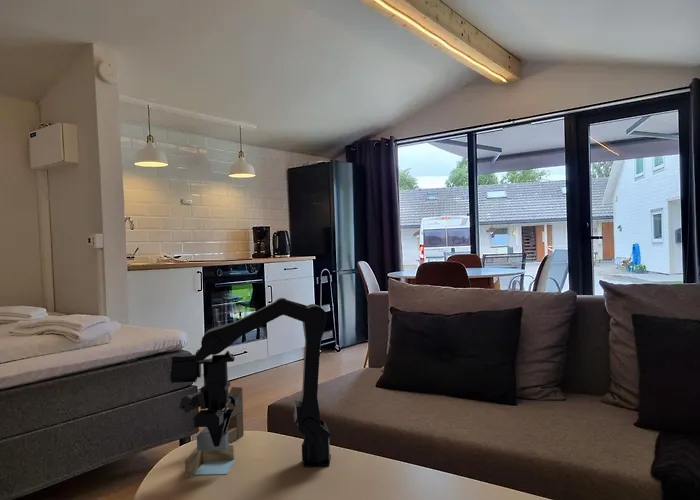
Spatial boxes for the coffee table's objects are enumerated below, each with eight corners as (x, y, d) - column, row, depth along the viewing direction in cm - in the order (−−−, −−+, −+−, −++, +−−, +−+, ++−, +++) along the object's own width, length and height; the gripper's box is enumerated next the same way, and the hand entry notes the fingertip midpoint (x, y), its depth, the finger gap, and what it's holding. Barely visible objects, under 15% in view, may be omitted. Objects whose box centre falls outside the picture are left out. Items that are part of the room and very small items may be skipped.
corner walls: (234, 458, 135) (234, 443, 135) (223, 476, 124) (222, 459, 124) (199, 459, 135) (199, 444, 135) (185, 477, 124) (185, 460, 125)
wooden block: (244, 435, 152) (242, 374, 152) (223, 449, 142) (220, 383, 142) (233, 434, 153) (231, 373, 154) (211, 447, 143) (209, 382, 143)
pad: (235, 461, 133) (235, 460, 133) (226, 474, 125) (226, 473, 125) (204, 461, 134) (204, 461, 134) (194, 475, 126) (194, 474, 126)
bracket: (197, 450, 126) (196, 436, 126) (206, 440, 133) (205, 426, 133) (225, 449, 125) (225, 435, 125) (233, 439, 132) (232, 425, 132)
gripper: (195, 372, 136) (198, 431, 136) (169, 391, 118) (171, 460, 118) (237, 371, 136) (240, 430, 136) (217, 390, 117) (220, 458, 117)
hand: (218, 444), depth 127 cm, fingers closed on bracket, 3 cm apart
